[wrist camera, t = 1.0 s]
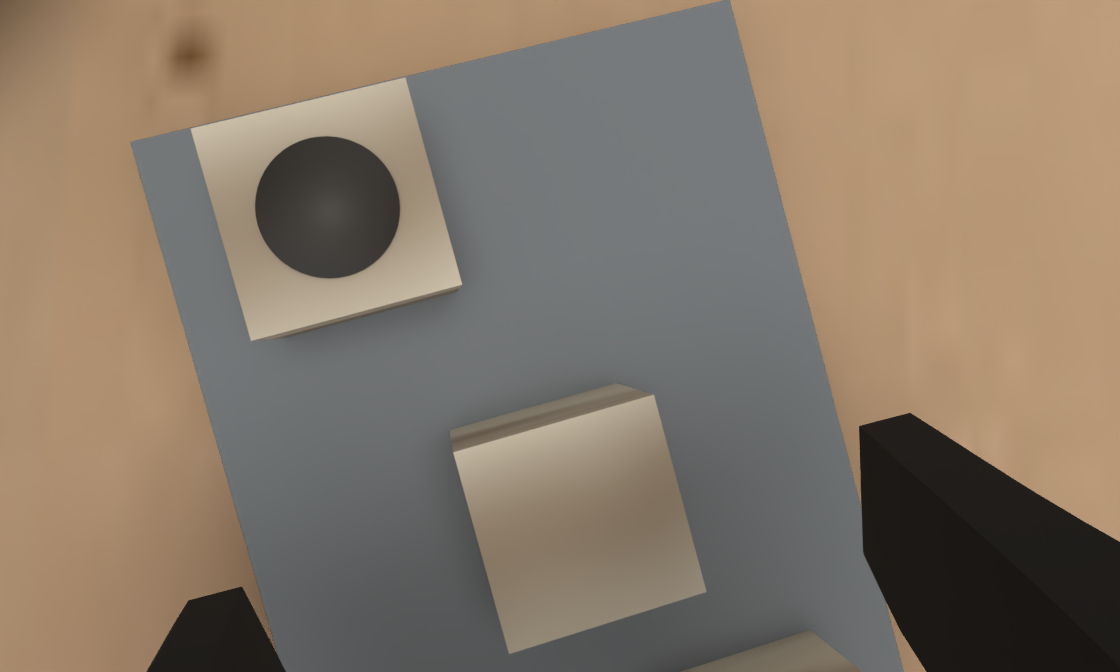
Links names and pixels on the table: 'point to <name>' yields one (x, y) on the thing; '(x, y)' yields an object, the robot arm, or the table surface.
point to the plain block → (576, 513)
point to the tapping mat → (544, 367)
